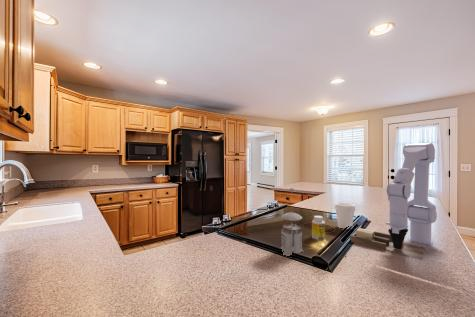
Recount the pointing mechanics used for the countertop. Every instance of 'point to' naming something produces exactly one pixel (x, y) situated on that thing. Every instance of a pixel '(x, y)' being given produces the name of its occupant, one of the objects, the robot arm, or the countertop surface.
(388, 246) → the lane shelf
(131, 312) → the countertop surface
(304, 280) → the countertop surface
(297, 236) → the french press
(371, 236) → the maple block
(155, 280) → the countertop surface
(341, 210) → the foam cup
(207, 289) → the countertop surface
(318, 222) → the supplement bottle
